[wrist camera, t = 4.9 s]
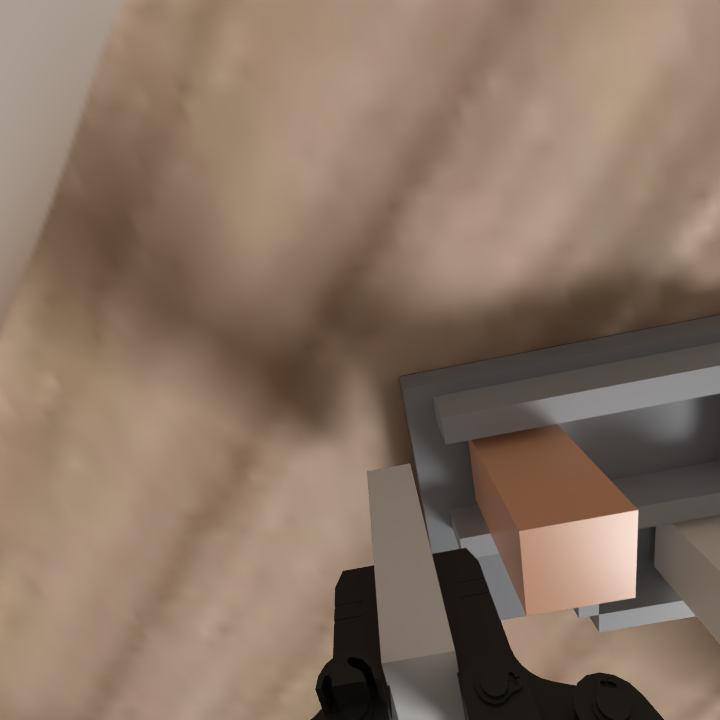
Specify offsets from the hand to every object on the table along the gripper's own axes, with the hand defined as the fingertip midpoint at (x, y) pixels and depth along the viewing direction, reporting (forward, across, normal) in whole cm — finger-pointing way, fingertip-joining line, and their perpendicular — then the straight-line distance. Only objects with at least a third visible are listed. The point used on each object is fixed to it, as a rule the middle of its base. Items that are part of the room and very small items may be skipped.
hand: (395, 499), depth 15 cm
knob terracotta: (+1, +4, 0) cm, 5 cm away
